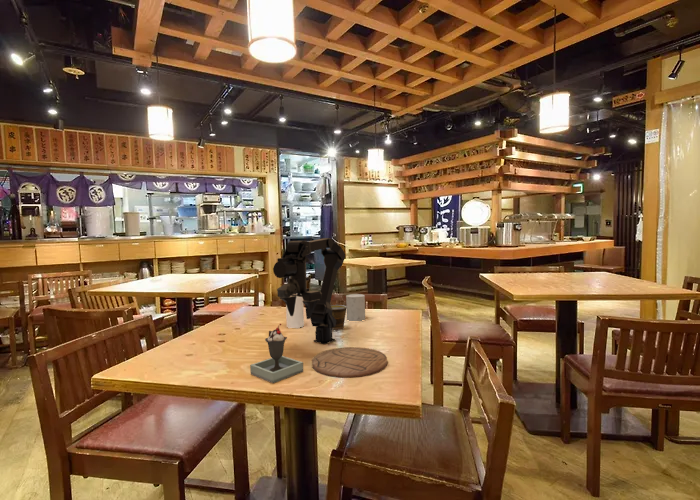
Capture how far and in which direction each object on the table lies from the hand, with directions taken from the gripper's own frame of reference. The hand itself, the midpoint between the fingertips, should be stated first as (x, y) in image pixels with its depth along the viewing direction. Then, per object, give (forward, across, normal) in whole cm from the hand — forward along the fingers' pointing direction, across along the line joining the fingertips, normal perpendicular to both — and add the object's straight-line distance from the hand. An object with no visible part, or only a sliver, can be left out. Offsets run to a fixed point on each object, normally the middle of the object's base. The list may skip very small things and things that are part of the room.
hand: (299, 317), depth 133 cm
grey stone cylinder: (+13, -17, +51) cm, 55 cm away
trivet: (+14, +22, +2) cm, 26 cm away
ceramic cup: (+13, -13, +31) cm, 36 cm away
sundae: (+12, +9, -18) cm, 24 cm away
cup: (+13, -32, +24) cm, 42 cm away
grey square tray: (+13, +9, -18) cm, 24 cm away
